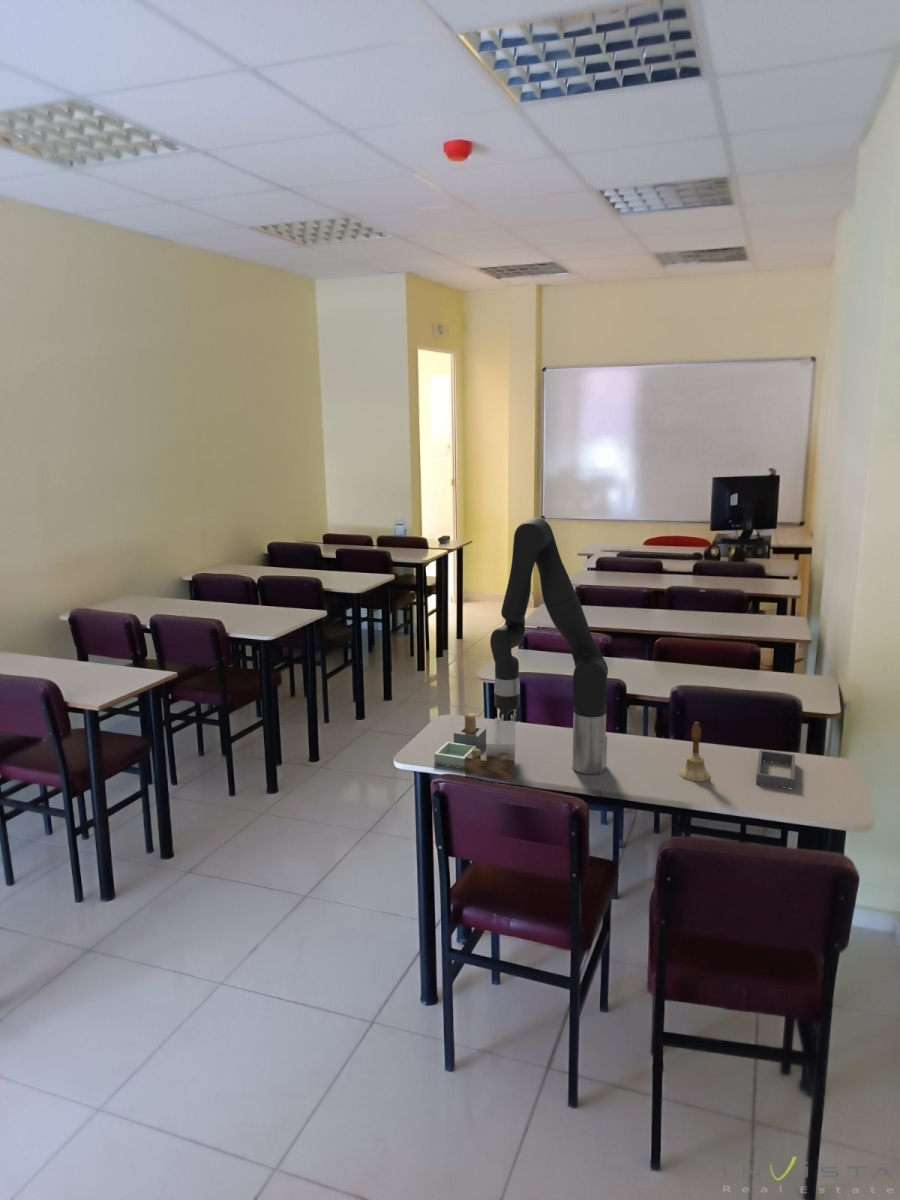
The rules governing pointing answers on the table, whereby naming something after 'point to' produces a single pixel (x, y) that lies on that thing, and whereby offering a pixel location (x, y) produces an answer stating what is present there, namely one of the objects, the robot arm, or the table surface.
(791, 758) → the frame
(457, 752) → the tray
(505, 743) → the ink box
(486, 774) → the peg rack
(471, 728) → the dowel
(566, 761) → the table surface
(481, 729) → the socket block
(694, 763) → the hand bell
